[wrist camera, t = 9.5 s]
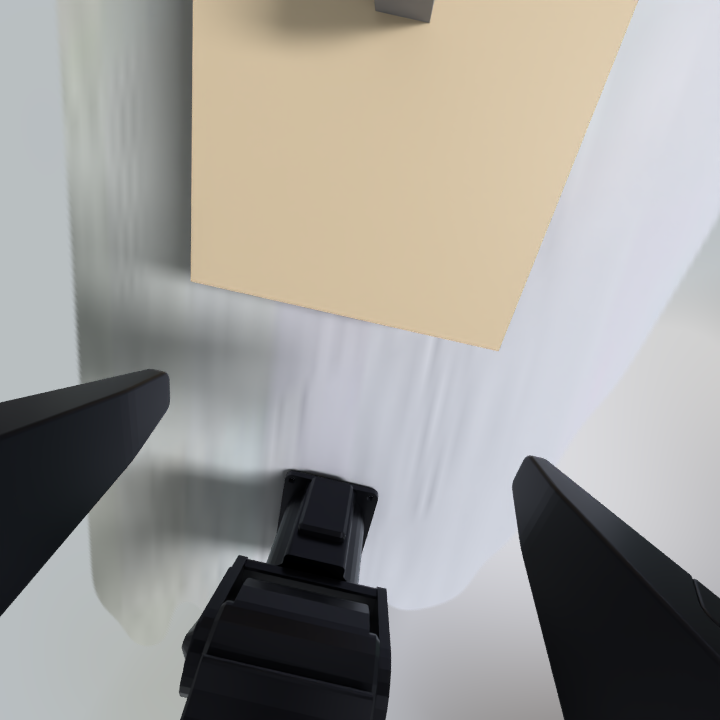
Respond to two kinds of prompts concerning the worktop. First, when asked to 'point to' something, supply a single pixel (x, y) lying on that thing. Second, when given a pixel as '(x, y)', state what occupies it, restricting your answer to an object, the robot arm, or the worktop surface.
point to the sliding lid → (390, 150)
